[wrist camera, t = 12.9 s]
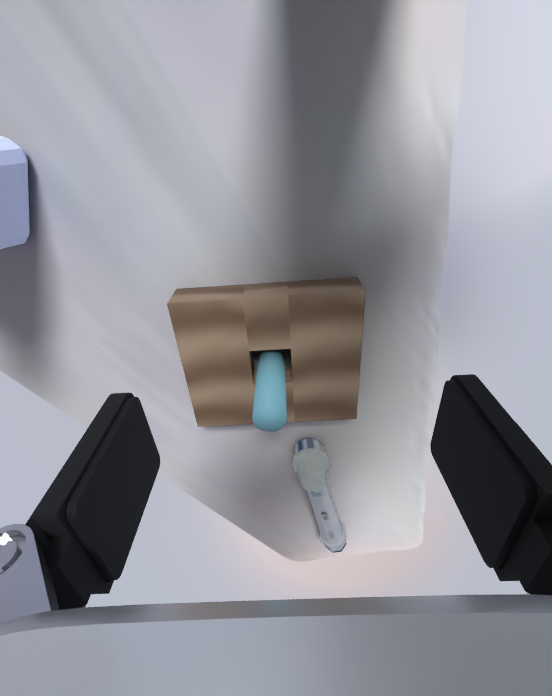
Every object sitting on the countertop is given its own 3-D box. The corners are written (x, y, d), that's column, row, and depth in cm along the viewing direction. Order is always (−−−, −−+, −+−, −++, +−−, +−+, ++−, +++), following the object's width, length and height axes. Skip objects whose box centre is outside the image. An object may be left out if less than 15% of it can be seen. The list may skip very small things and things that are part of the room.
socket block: (176, 288, 38) (167, 303, 35) (357, 277, 38) (365, 291, 34) (203, 405, 47) (198, 426, 44) (350, 398, 46) (356, 418, 43)
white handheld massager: (322, 556, 60) (290, 483, 45) (317, 517, 65) (287, 440, 50) (352, 551, 59) (330, 476, 44) (345, 513, 65) (322, 433, 49)
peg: (257, 340, 41) (250, 406, 31) (284, 338, 41) (285, 404, 31) (259, 362, 43) (254, 432, 33) (285, 360, 43) (287, 430, 33)
